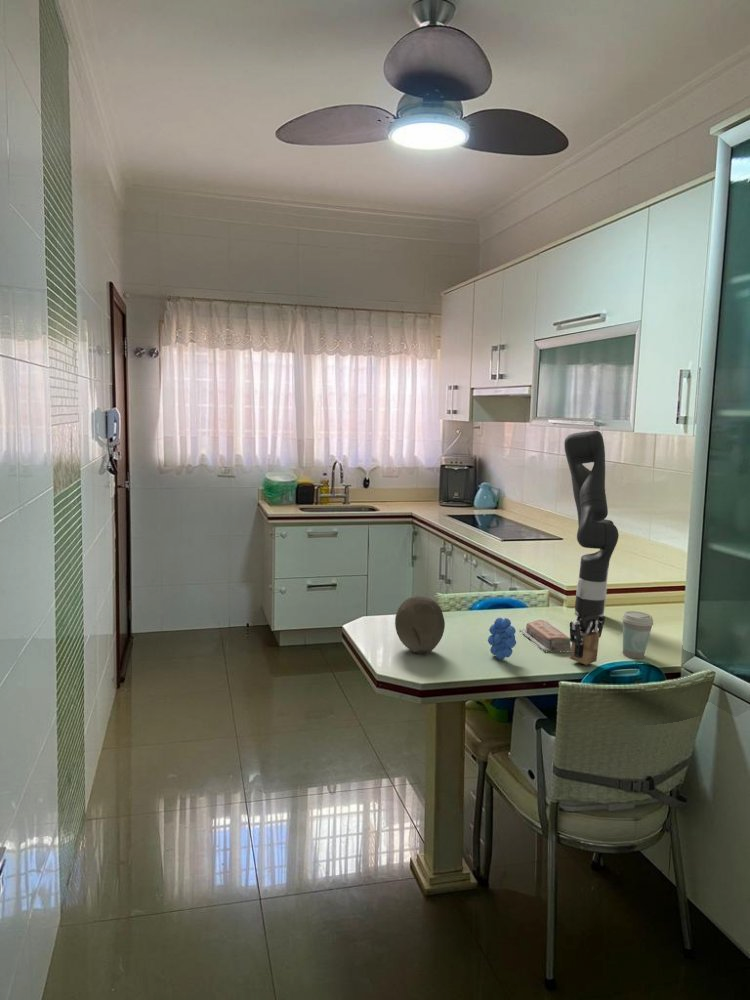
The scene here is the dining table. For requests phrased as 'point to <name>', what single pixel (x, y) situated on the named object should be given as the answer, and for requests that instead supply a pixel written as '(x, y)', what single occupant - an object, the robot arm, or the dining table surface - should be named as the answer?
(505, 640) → the grapes
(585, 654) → the walnut block
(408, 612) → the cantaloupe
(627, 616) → the coffee cup
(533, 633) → the packaged product
